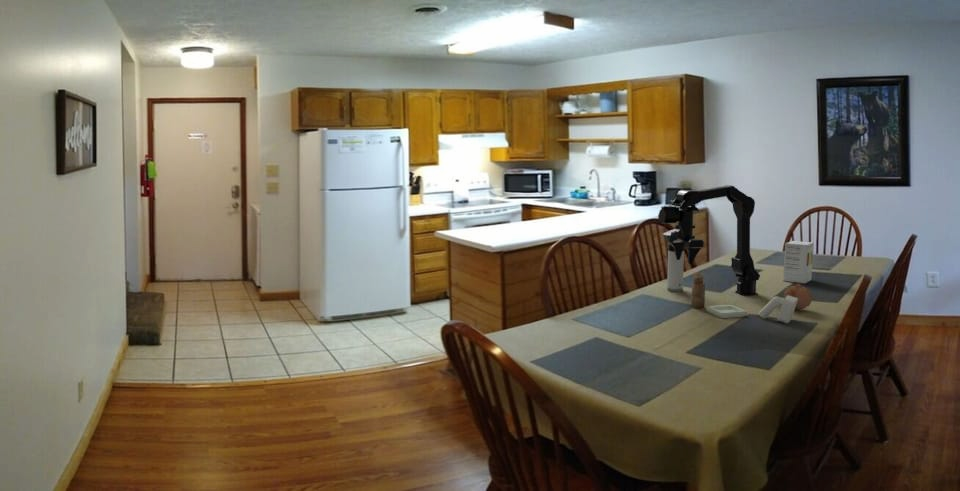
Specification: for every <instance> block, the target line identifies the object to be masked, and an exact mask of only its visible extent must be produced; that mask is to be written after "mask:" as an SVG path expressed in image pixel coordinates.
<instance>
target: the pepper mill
mask: <svg viewBox="0 0 960 491" xmlns="http://www.w3.org/2000/svg"><path fill="white" fill-rule="evenodd" d="M693 279H694V280H693V281H692V282H691V294H690V296H691V302H690V308H691V309H694V310H695V309H696V310H702V309H705V302H706V282H705V281H704V273H703V272H701V271H696V272H695V273H694V277H693Z"/></svg>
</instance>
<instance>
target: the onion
mask: <svg viewBox="0 0 960 491" xmlns="http://www.w3.org/2000/svg"><path fill="white" fill-rule="evenodd" d="M788 295H789V296H792V297H795V298H798V301H797V304H796V307H795V310H794V311H801V310H805V309H806V308H808V307H810V306H811V303H812V300H813V296H812V294H811V292H810V290H809V289H808V288H806V287H804V286H803V285H802V283H796V284H793V285H791V286H789V287H788V288H787V289H785V291H784V293H783V300H784V299H785V298H786V297H787V296H788Z"/></svg>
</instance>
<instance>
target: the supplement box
mask: <svg viewBox="0 0 960 491" xmlns="http://www.w3.org/2000/svg"><path fill="white" fill-rule="evenodd" d="M814 244H815V243H814V242H811V241H801V240H800V241H799V240H791V241H788V242H785V244H784V263H783V277H782V278H783V279H782V280H783V281H784V282H791V283H796V284H798V283H799V284H807V283H808V282H811V281H812V276H813V275H812V273H813V259H814Z"/></svg>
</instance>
